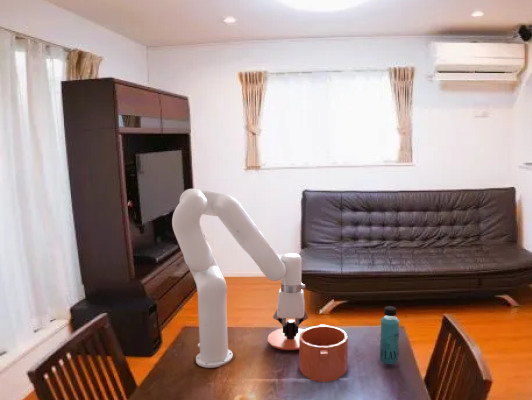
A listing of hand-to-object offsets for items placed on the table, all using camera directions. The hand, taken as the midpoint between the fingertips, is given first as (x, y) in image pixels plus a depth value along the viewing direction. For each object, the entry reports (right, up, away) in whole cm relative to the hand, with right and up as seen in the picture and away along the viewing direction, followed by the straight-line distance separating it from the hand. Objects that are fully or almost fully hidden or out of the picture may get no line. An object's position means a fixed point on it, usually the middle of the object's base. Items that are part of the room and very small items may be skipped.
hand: (290, 334), depth 160 cm
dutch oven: (+12, -6, -16) cm, 21 cm away
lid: (0, -2, 0) cm, 2 cm away
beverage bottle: (+35, -6, -13) cm, 38 cm away
